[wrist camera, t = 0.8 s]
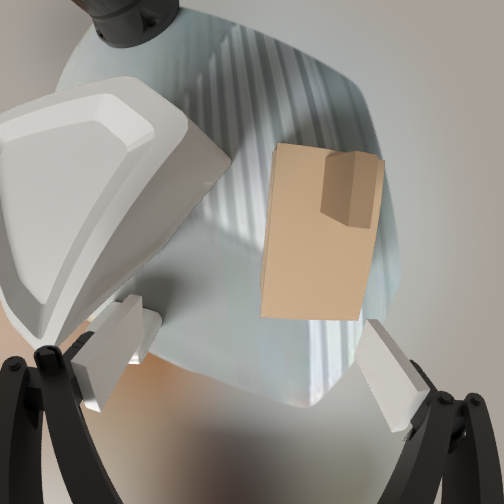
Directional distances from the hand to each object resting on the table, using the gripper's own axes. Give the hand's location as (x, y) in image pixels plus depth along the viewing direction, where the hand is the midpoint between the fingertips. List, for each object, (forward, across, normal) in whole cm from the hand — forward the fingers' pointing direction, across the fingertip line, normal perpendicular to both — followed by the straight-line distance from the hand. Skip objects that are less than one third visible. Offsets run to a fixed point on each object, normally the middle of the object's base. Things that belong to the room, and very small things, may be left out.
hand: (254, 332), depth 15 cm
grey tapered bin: (+27, -15, +6) cm, 32 cm away
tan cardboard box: (+17, +8, +2) cm, 19 cm away
